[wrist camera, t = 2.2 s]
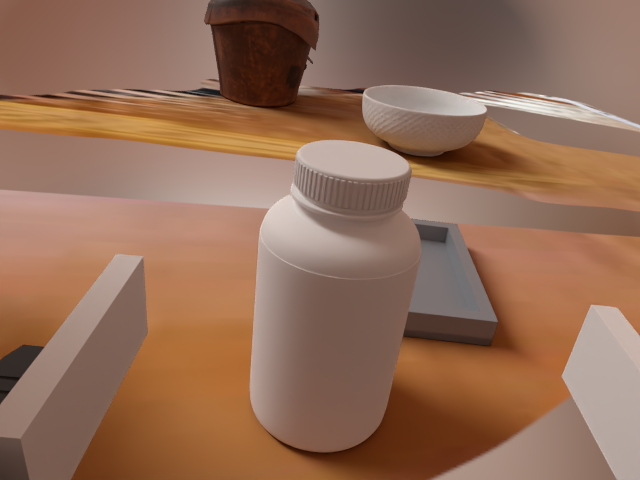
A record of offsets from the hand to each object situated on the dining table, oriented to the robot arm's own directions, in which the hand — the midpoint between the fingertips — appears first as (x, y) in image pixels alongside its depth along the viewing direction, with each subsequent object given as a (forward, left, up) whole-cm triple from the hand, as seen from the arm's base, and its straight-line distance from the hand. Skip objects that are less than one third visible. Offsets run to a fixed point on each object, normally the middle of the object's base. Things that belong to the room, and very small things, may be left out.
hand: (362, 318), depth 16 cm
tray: (+4, +25, -14) cm, 28 cm away
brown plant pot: (-13, +78, -14) cm, 80 cm away
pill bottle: (0, +10, -14) cm, 17 cm away
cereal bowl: (+12, +61, -14) cm, 64 cm away
